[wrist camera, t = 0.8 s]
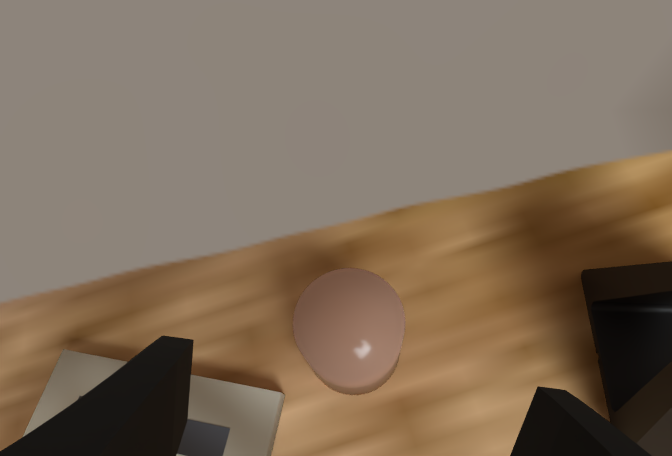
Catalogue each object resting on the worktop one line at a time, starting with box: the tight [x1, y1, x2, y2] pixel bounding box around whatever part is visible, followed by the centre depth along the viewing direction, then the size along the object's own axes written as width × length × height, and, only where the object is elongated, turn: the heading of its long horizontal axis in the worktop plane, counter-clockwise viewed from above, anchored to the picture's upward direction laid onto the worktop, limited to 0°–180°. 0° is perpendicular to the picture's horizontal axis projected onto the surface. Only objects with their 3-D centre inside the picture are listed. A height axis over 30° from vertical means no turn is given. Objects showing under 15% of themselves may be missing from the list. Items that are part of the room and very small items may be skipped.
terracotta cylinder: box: [293, 268, 405, 395], centre depth 21 cm, size 5×5×5 cm
